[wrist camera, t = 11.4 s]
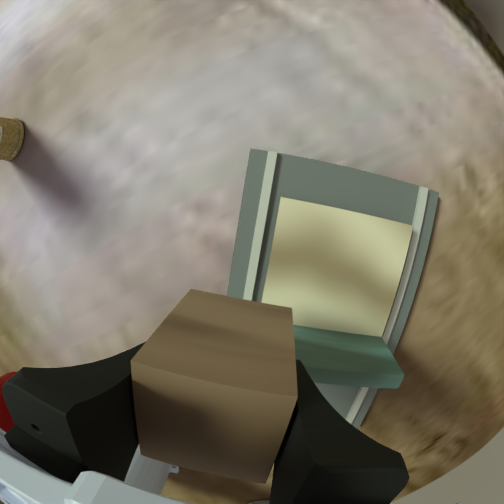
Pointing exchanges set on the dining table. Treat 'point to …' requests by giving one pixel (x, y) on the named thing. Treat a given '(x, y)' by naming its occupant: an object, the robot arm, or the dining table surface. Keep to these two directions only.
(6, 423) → the plastic cup
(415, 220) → the track board
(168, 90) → the dining table surface
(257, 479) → the walnut block
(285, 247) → the sliding tray
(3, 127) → the sprinkles bottle
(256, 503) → the coffee cup
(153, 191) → the dining table surface
